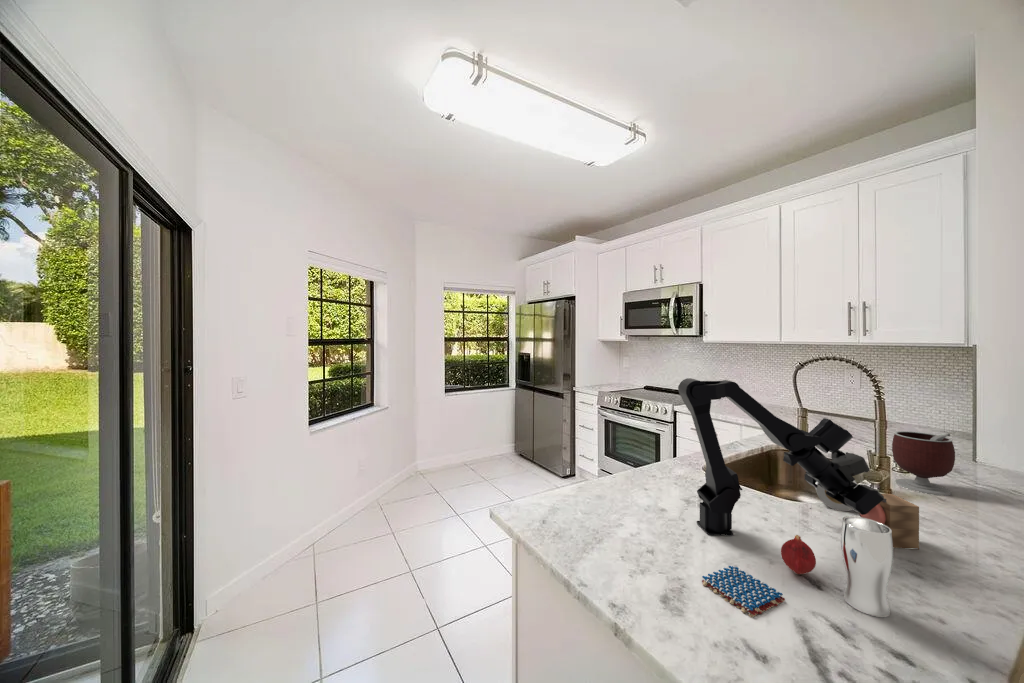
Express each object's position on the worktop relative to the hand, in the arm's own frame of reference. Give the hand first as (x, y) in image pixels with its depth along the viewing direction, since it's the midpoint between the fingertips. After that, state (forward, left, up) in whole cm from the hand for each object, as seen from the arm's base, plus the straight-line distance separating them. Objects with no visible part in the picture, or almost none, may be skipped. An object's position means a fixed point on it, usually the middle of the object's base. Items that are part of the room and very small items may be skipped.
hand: (866, 512), depth 91 cm
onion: (-27, -14, -7) cm, 31 cm away
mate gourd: (+47, +32, -7) cm, 57 cm away
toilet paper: (+9, +20, -7) cm, 23 cm away
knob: (+4, -1, -3) cm, 5 cm away
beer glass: (-21, -23, -7) cm, 32 cm away
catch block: (+5, -1, -7) cm, 8 cm away
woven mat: (-42, -20, -7) cm, 47 cm away
